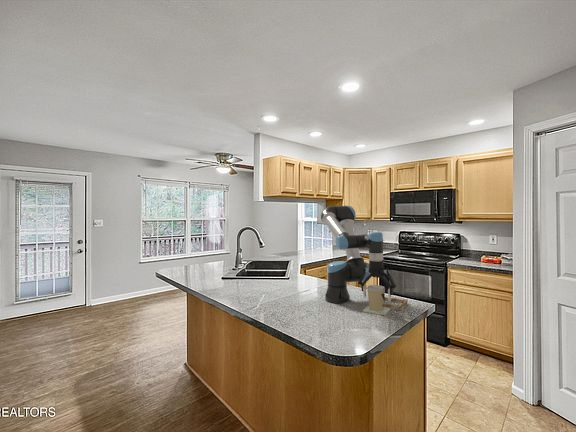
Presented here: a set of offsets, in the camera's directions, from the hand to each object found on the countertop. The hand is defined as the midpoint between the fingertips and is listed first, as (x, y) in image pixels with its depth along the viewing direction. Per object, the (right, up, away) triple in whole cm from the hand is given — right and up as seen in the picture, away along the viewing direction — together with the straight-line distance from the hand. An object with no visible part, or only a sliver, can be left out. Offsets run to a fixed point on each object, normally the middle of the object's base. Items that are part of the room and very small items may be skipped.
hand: (376, 299), depth 159 cm
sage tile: (0, -6, 0) cm, 6 cm away
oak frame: (+11, -6, +9) cm, 16 cm away
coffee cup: (0, -6, 0) cm, 6 cm away
